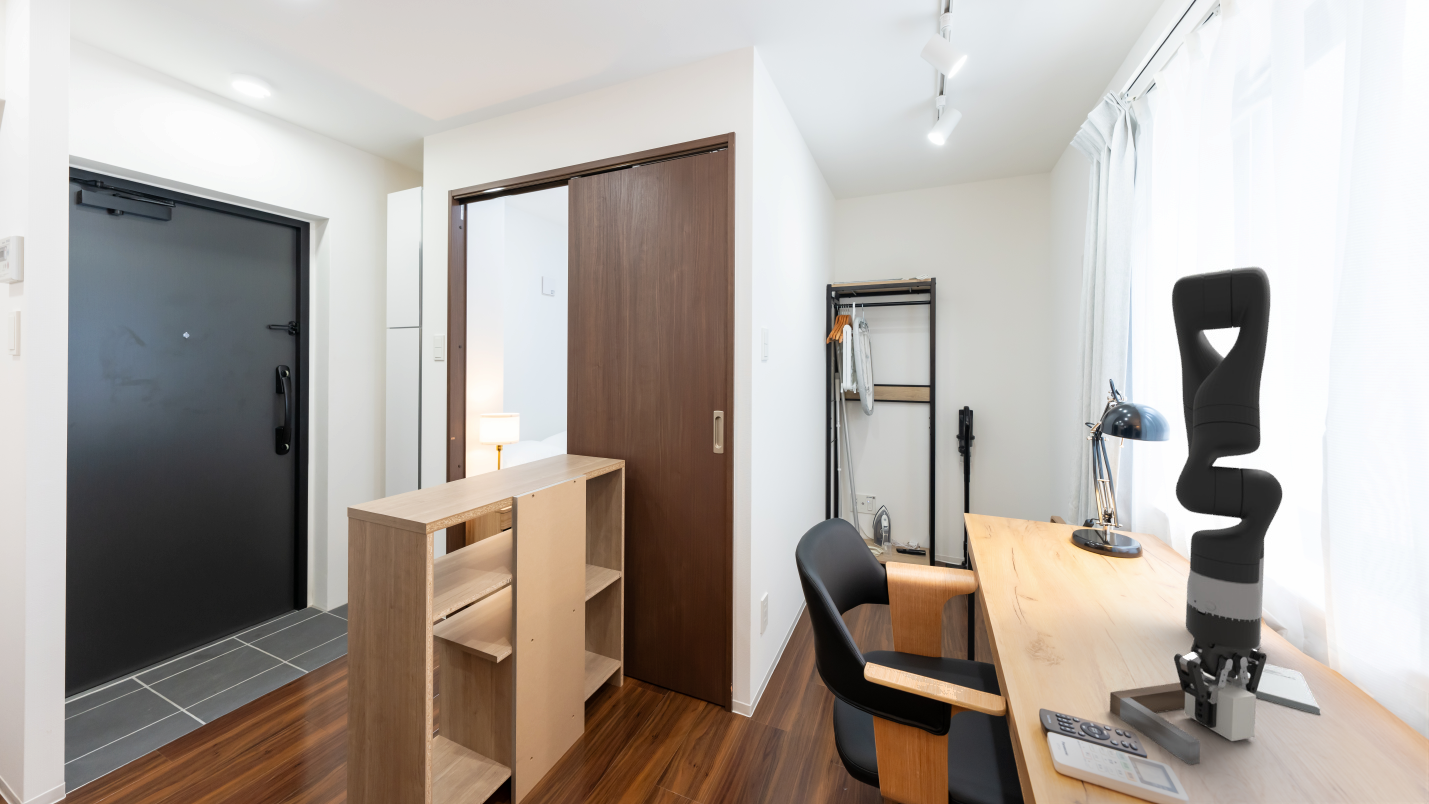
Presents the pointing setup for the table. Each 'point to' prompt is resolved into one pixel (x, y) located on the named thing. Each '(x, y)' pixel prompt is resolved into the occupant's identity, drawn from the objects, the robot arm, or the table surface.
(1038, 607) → the table surface
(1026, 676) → the table surface
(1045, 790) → the table surface
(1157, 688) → the guide fence
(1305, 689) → the external hard drive
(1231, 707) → the block
